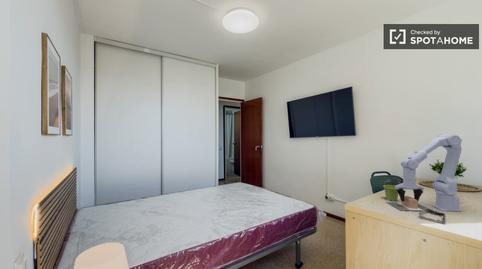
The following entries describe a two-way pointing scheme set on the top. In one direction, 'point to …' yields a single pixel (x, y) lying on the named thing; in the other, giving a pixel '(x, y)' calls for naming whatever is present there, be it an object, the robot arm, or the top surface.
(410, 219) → the top surface
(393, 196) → the plant pot
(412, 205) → the terracotta card box
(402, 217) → the top surface
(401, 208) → the charcoal mat
